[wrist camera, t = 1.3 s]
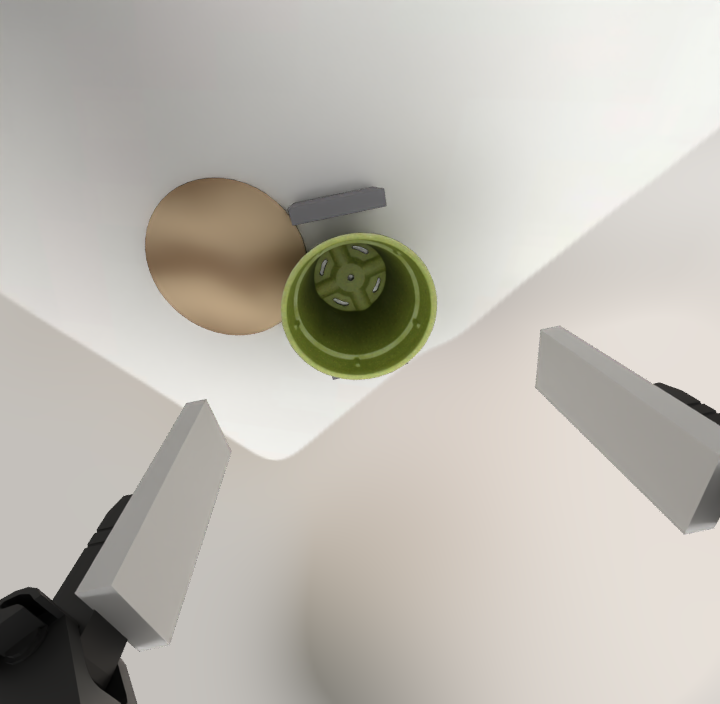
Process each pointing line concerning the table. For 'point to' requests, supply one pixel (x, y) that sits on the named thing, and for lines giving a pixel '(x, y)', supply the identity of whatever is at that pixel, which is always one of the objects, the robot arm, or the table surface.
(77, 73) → the table surface
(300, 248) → the coaster
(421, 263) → the plant pot
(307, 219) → the twin grey plates
